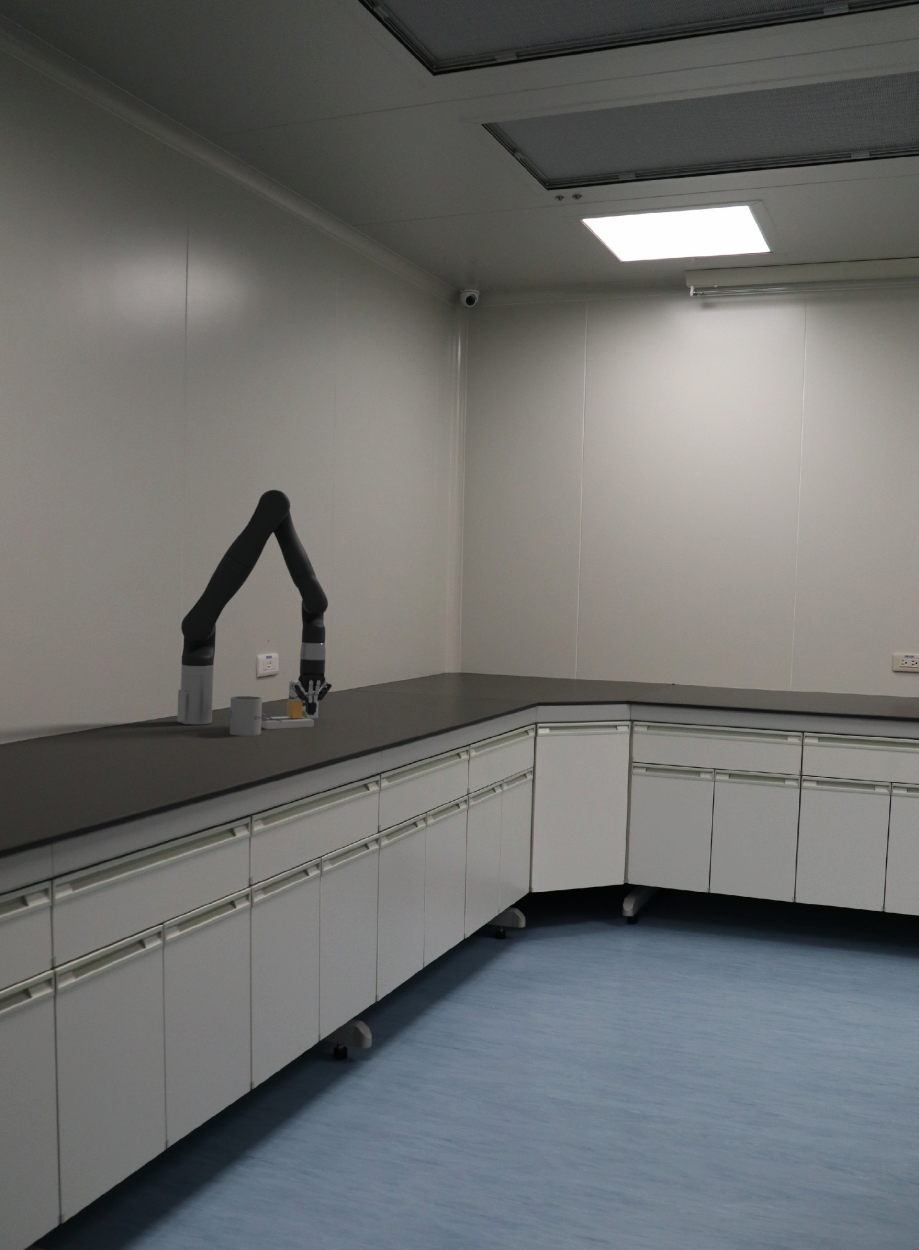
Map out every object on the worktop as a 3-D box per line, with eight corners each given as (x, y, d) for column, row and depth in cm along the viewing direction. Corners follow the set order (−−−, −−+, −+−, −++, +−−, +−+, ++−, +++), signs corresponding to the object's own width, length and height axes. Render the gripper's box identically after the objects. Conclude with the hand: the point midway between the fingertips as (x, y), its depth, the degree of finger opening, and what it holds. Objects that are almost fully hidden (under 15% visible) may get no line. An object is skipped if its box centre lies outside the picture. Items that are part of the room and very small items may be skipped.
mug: (250, 736, 288) (252, 700, 288) (223, 734, 291) (224, 698, 290) (272, 731, 300) (274, 696, 299) (246, 728, 302) (247, 694, 302)
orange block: (292, 718, 311) (293, 702, 310) (286, 716, 314) (287, 700, 314) (301, 717, 312) (302, 701, 312) (296, 716, 316) (296, 700, 315)
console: (267, 729, 303) (267, 715, 303) (253, 724, 311) (253, 711, 311) (313, 726, 311) (314, 713, 311) (298, 722, 320) (299, 709, 319)
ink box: (296, 720, 325) (297, 682, 324) (287, 718, 328) (288, 680, 328) (318, 718, 331) (320, 681, 330) (309, 716, 334) (310, 679, 334)
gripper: (298, 658, 309) (296, 717, 309) (338, 658, 316) (335, 715, 317) (287, 656, 315) (285, 714, 315) (326, 656, 322) (324, 712, 323)
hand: (310, 714), depth 316 cm, fingers closed
